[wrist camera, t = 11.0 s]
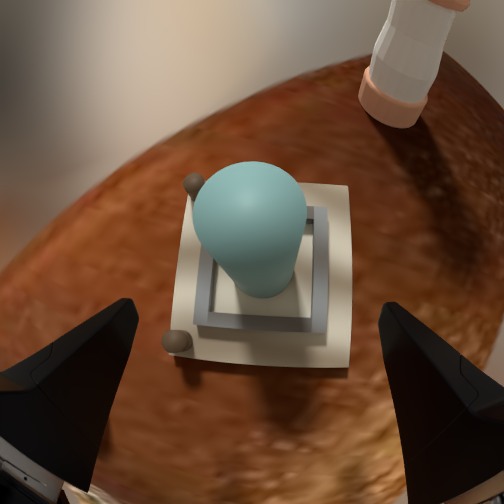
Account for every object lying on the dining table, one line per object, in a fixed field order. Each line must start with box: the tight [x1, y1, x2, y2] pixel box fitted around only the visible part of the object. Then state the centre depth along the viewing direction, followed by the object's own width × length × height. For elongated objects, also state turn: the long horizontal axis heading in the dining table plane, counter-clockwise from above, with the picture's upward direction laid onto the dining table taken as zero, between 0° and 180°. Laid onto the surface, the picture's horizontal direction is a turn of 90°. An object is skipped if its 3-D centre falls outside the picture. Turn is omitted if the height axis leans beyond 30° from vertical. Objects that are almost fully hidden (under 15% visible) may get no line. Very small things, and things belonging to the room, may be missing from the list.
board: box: [162, 173, 352, 368], centre depth 20 cm, size 14×13×3 cm
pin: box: [193, 162, 307, 298], centre depth 15 cm, size 4×4×10 cm
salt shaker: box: [358, 0, 470, 128], centre depth 16 cm, size 7×7×19 cm
